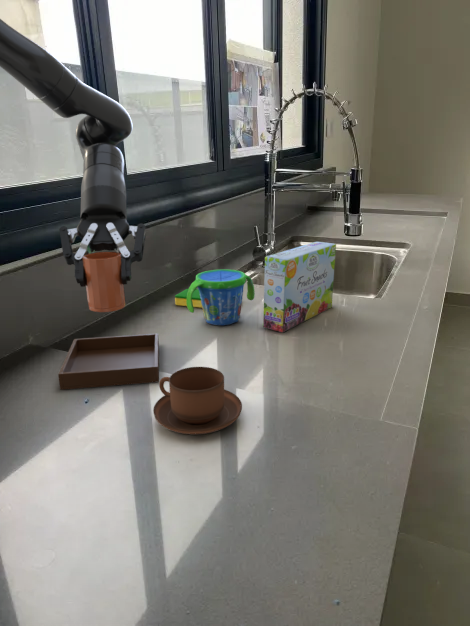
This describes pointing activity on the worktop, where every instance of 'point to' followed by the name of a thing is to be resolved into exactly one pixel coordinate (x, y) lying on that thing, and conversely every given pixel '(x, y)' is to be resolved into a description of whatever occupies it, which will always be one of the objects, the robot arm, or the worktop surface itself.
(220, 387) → the cup and saucer
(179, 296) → the dish sponge
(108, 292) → the tumbler
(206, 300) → the snack cup
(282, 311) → the snack box
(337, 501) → the worktop surface
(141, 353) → the tray
